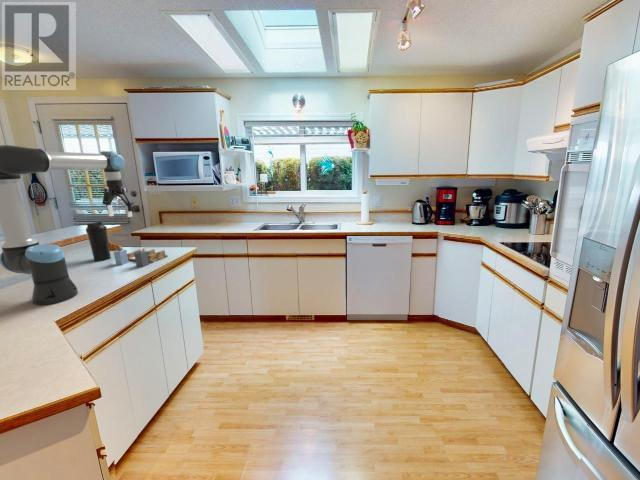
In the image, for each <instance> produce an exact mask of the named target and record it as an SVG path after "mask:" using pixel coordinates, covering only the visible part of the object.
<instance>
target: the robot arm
mask: <svg viewBox="0 0 640 480" xmlns="http://www.w3.org/2000/svg"><path fill="white" fill-rule="evenodd" d="M125 165H126V164H125V159H124V157H123V156H122V155H121V154H119V153H118V154H117V152H116V151H113V150H112V151H111V150H110V151H105V150H103V151H102V150H101V151H100V153H92V152H91V153H90V152H89V153H88V152H66V151H65V152H64V151H63V152H62V151H47V150H44V149H42V148H33V147H26V146H18V145H10V144H2V145H0V229H1V232H2V236H3V238H4V243H3V244H2V245H1V249H2V251H1V253H0V265H1V267H3V268H4V269H5V270H7V271H9V272H12V273H15V274H27V275H31V278H32V279H31V280H32V282H33V288H32V289H33V290H32V296H31V301H32V303H33V305H36V306H37V305H38V306H47V305H52V304H57V303H60V302H64V301H67V300H69V299H72V298H74V297H76V296H77V295H78V293H79V291H78V288H77V286H76V285H75V283H74V282H73V280H72V279H71V278H70V275H69V270H68V267H67V262H66V259H65V258H66V257H65V253H64V251H63V248H62V247H61V246H59V245H58V244H53V243H52V244H51V243H47V244H46V243H45V244H40V243H39V240H38V239H35V238H34V237H33V234H32V231H31V228H30V223H29V220H28V216H27V213H26V209H25V206H24V202H23V198H22V195H21V191H20V187H19V185H18V183H20V181H21V180H22V177H21V175H26V174H27V175H28V174H36V173H47V172H48V171H53V170H55V171H57V170H58V171H61V170H63V171H65V170H69V171H70V170H71V171H72V170H77V171H78V170H84V171H85V170H88V171H90V170H91V171H92V170H103V173H104V178H105V180H106V181H105V183H106V187H107V188H105V187H104V189H103V190H104V193H103V198H102V205H105V206H106V210H107V213H108V214H107V215H108V217H114V216H115V213H114V209H113V204H112V203H113V200H114V198H115V197H118V198H120V199H121V200H122V202H123V203H124V204H125V211H126V216H127V217H126V218H131V217H133V208H132V206H133V205H135V202H134V201H133V199H132V196H131V195H130V193H129V191H128V189H127V188H126V187H125V188H122V187H123V180H122V176H121V170H122V169H123V168H124V167H125Z"/></svg>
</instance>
